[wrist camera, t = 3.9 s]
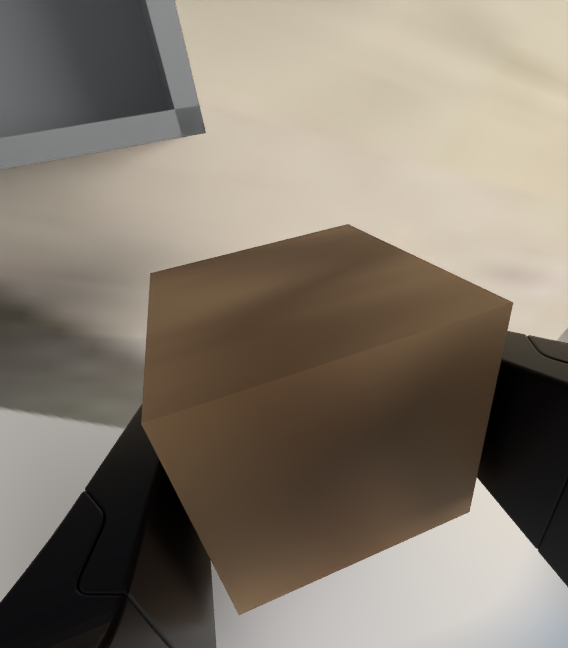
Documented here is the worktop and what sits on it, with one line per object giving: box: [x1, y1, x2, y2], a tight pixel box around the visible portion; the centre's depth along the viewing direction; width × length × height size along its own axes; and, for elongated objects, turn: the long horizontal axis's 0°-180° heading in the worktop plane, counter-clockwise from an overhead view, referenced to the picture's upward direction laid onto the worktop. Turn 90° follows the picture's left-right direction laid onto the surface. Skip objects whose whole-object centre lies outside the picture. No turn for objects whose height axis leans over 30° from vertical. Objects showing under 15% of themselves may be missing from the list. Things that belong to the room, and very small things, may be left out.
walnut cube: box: [141, 224, 513, 615], centre depth 8 cm, size 5×5×5 cm
